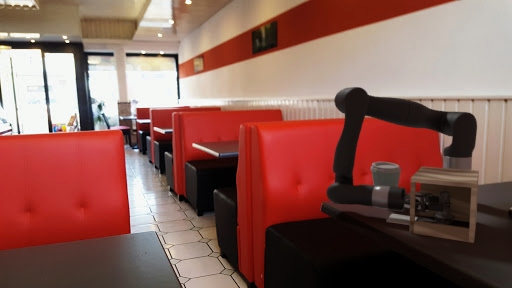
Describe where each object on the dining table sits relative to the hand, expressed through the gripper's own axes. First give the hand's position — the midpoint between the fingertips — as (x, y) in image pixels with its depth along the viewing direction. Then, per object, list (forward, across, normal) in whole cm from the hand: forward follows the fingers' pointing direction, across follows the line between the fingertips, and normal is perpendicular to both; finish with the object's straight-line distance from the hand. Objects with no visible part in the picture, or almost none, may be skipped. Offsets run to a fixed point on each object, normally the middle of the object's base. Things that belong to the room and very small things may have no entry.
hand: (445, 204), depth 111 cm
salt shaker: (0, 0, +7) cm, 7 cm away
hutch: (0, 0, +7) cm, 7 cm away
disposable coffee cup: (-21, +17, +7) cm, 28 cm away
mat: (-12, +1, +7) cm, 14 cm away
